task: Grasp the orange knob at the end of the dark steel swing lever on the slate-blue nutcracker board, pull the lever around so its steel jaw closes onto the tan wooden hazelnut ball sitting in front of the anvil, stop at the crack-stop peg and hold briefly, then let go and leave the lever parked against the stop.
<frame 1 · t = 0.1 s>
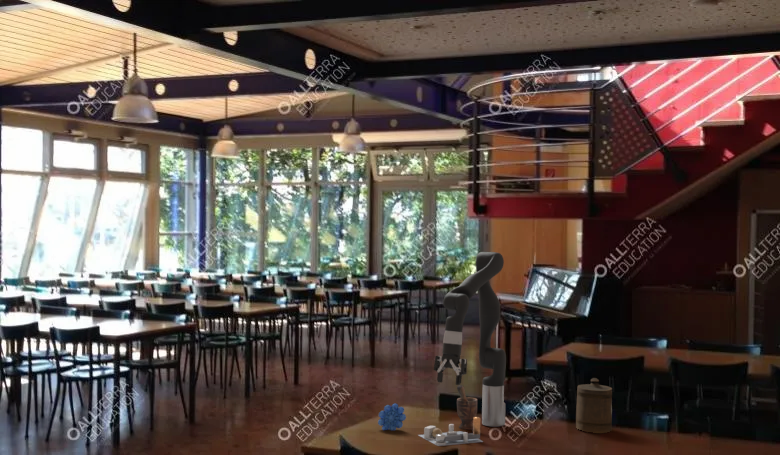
hand: (448, 383, 316), 22 cm above the table, tool pointing down, fingers open, 8 cm apart
lever: (457, 429, 308), point 6 cm above the table, hinge at 0.0°
mortar and pestle: (466, 431, 331), on the table
wooden container: (593, 430, 339), on the table
nutcracker base: (450, 441, 313), on the table
hazelnut: (437, 438, 312), point 1 cm above the table, touching nutcracker base
blue lumpy cluster: (392, 432, 327), on the table
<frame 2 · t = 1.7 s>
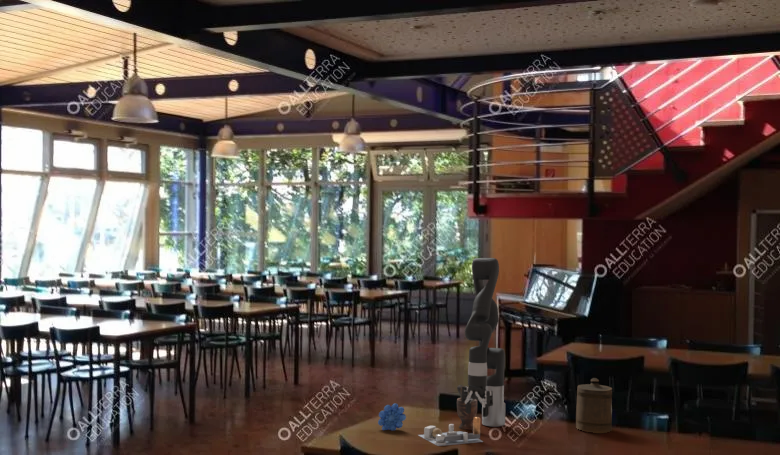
hand: (476, 415, 311), 11 cm above the table, tool pointing down, fingers open, 8 cm apart
nothing on the table moved.
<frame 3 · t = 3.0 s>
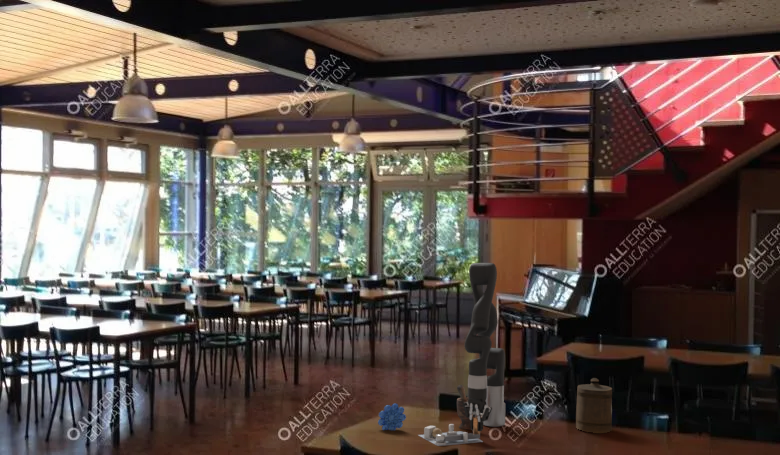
hand: (476, 430, 311), 5 cm above the table, tool pointing down, fingers closed on lever, 3 cm apart
lever: (457, 429, 308), point 6 cm above the table, hinge at 0.0°, touching gripper
everything else where it was.
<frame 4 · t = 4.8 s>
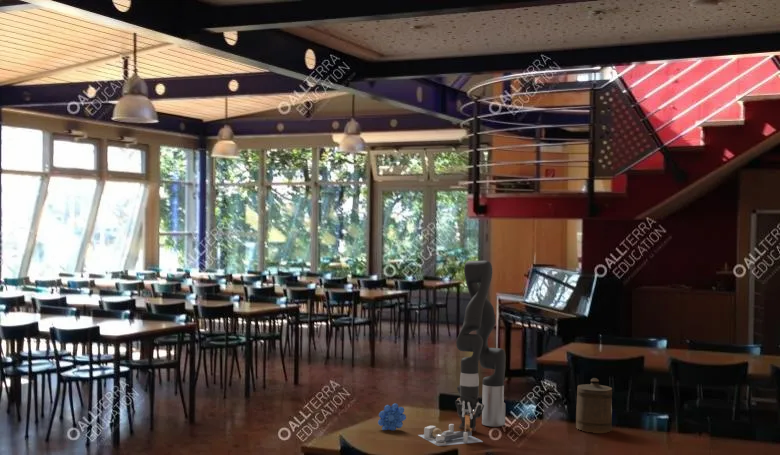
hand: (469, 427, 316), 5 cm above the table, tool pointing down, fingers closed on lever, 3 cm apart
lever: (453, 427, 310), point 6 cm above the table, hinge at 18.7°, touching gripper
everything else where it was.
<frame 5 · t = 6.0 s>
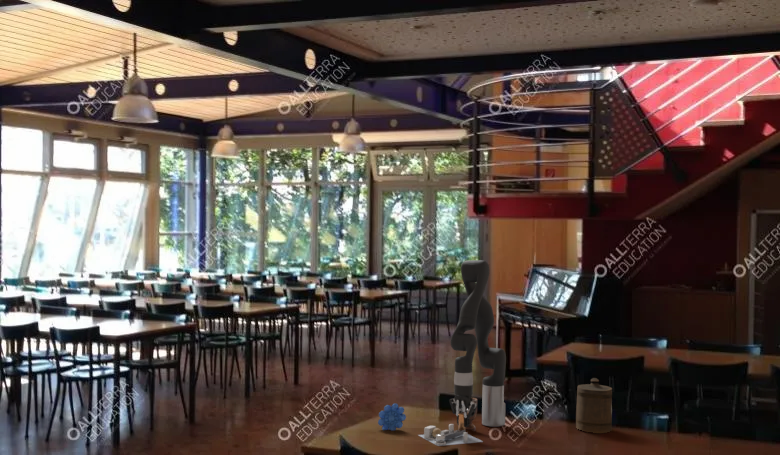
hand: (463, 425, 318), 5 cm above the table, tool pointing down, fingers closed on lever, 3 cm apart
lever: (450, 427, 311), point 6 cm above the table, hinge at 29.9°, touching gripper
everything else where it was.
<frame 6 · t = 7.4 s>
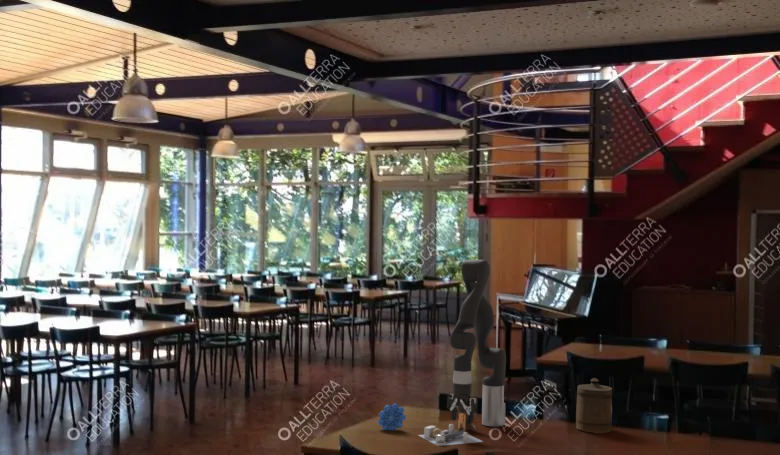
hand: (461, 422, 318), 7 cm above the table, tool pointing down, fingers open, 8 cm apart
lever: (450, 427, 311), point 6 cm above the table, hinge at 30.3°
everything else where it was.
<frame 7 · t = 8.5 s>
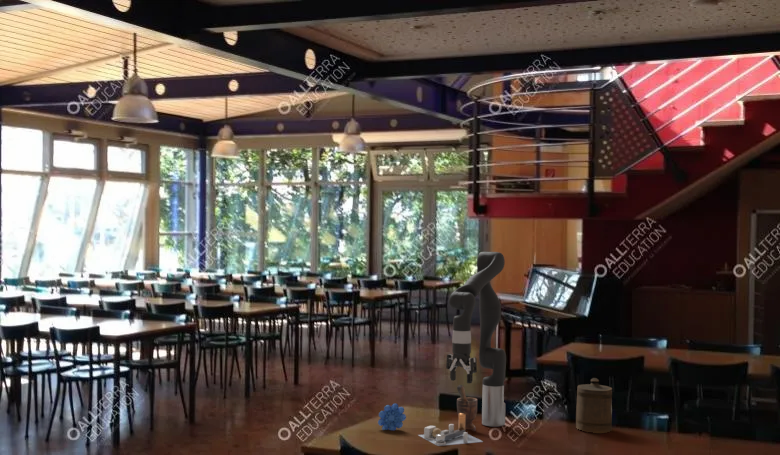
hand: (461, 381, 319), 23 cm above the table, tool pointing down, fingers open, 8 cm apart
nothing on the table moved.
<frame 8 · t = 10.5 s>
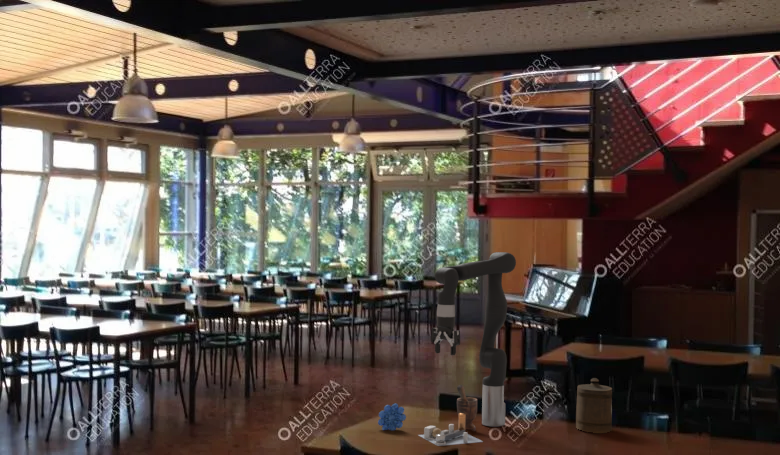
hand: (445, 354, 331), 32 cm above the table, tool pointing down, fingers open, 8 cm apart
nothing on the table moved.
at the end: lever at +30° (first picture: +0°); hazelnut 0.1 cm from the target spot, point 1.1 cm above the table; the gripper is holding nothing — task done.
